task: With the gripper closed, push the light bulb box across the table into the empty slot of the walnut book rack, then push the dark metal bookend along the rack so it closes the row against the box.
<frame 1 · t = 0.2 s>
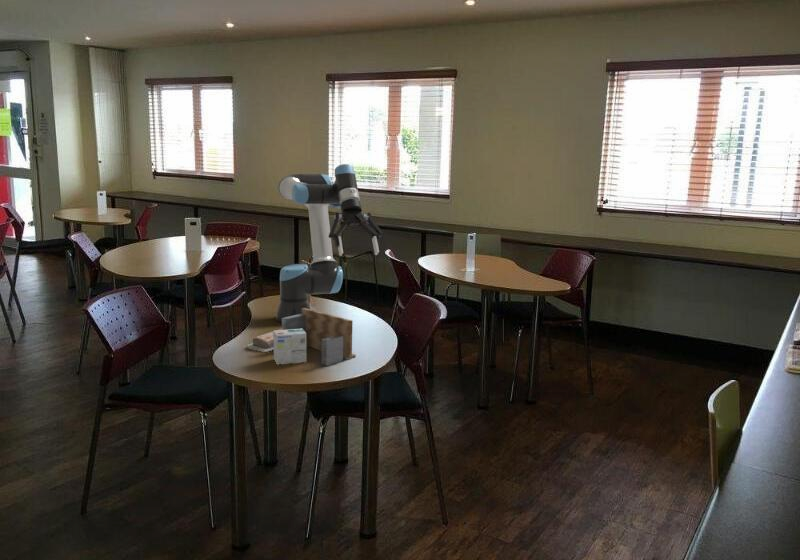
hand: (359, 254, 238), 36 cm above the table, tool tilted 35°, fingers open, 13 cm apart
bookend: (332, 350, 228), point 5 cm above the table, slide at 0.0 cm
packaged product: (272, 346, 247), on the table
rack: (322, 352, 240), on the table
light bulb box: (289, 361, 229), on the table
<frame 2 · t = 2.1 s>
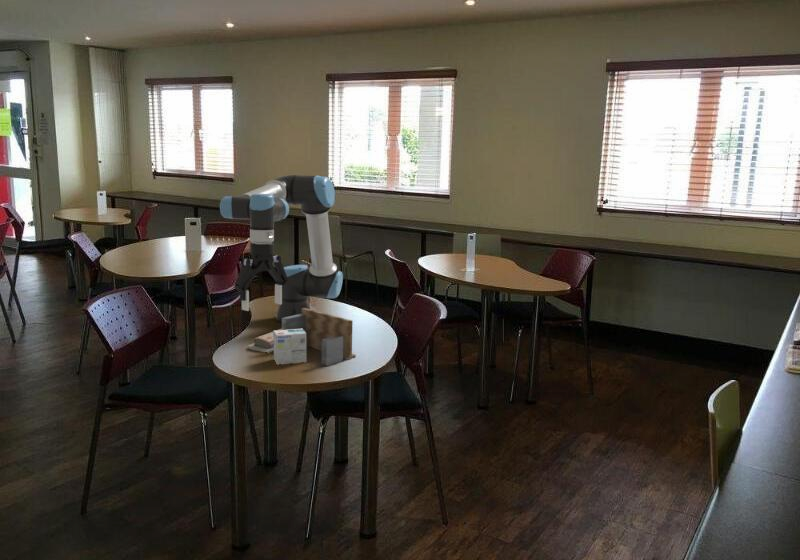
hand: (262, 307, 215), 22 cm above the table, tool pointing down, fingers open, 13 cm apart
nothing on the table moved.
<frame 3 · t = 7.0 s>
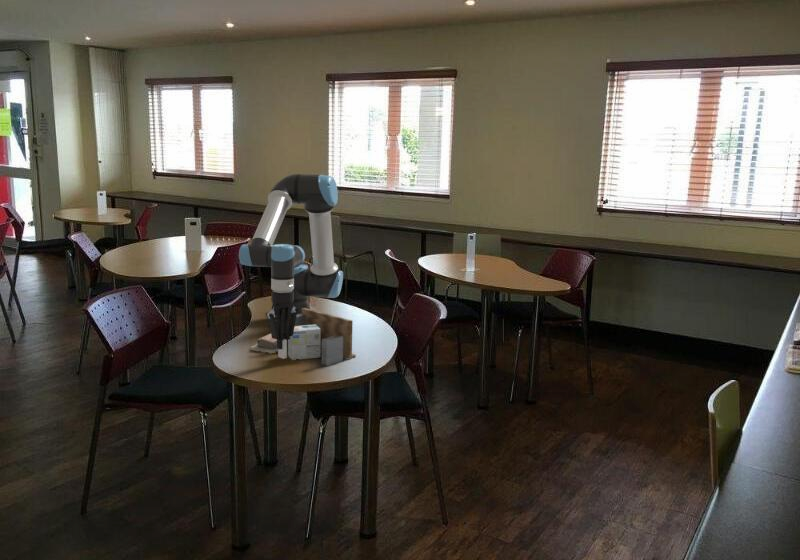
hand: (282, 357, 226), 2 cm above the table, tool pointing down, fingers closed
light bulb box: (304, 357, 235), on the table, touching hand
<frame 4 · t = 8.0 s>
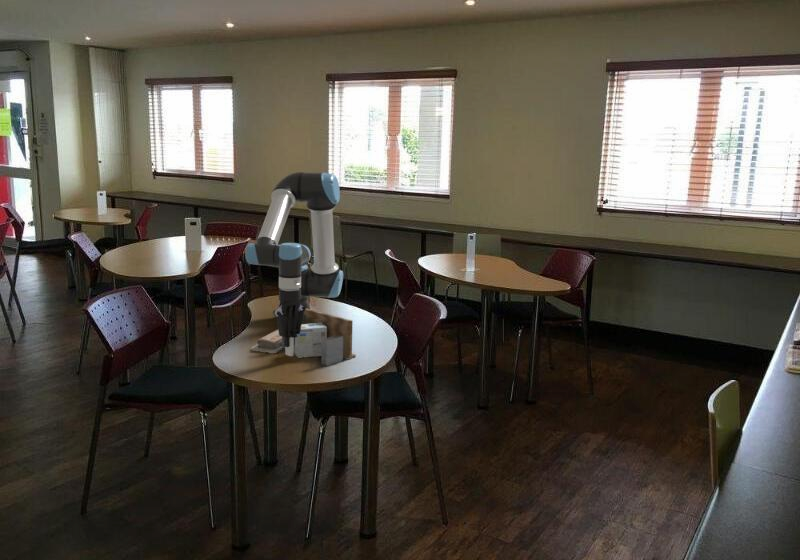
hand: (289, 355, 229), 2 cm above the table, tool pointing down, fingers closed
light bulb box: (310, 355, 237), on the table, touching hand, rack
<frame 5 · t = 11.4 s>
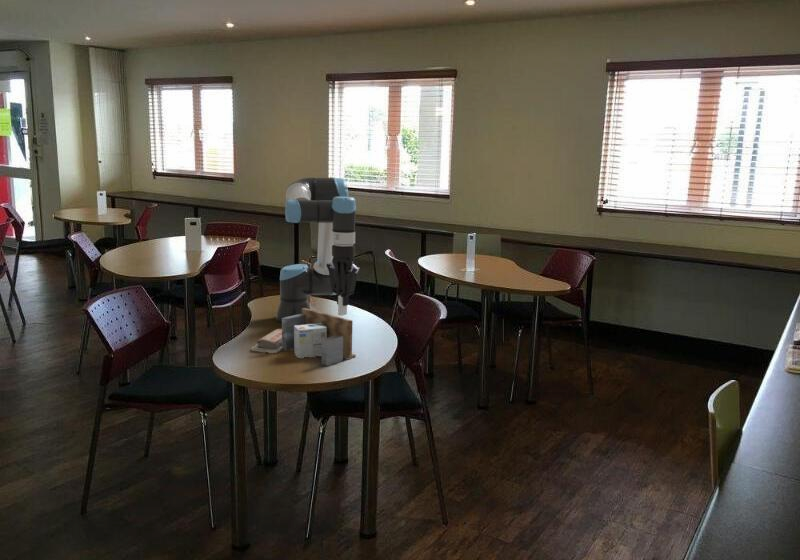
hand: (342, 314, 219), 19 cm above the table, tool pointing down, fingers closed
light bulb box: (310, 355, 237), on the table
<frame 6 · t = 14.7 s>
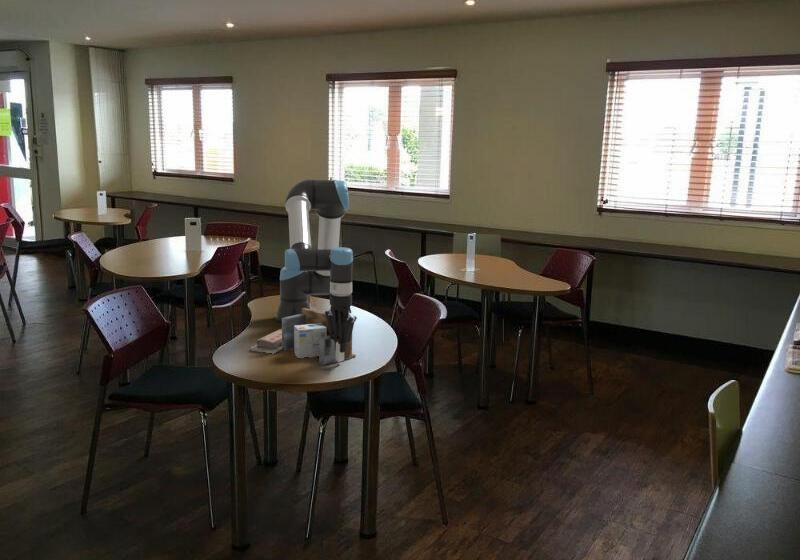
hand: (339, 360, 226), 2 cm above the table, tool pointing down, fingers closed
bookend: (330, 349, 229), point 5 cm above the table, slide at 1.2 cm, touching gripper
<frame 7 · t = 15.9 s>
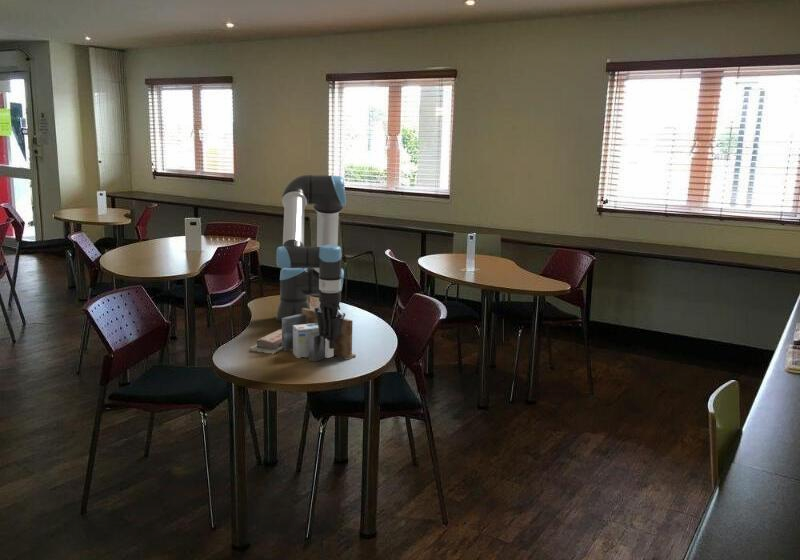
hand: (329, 356, 230), 2 cm above the table, tool pointing down, fingers closed
bookend: (319, 346, 232), point 5 cm above the table, slide at 6.3 cm, touching gripper, light bulb box
light bulb box: (309, 355, 237), on the table, touching bookend
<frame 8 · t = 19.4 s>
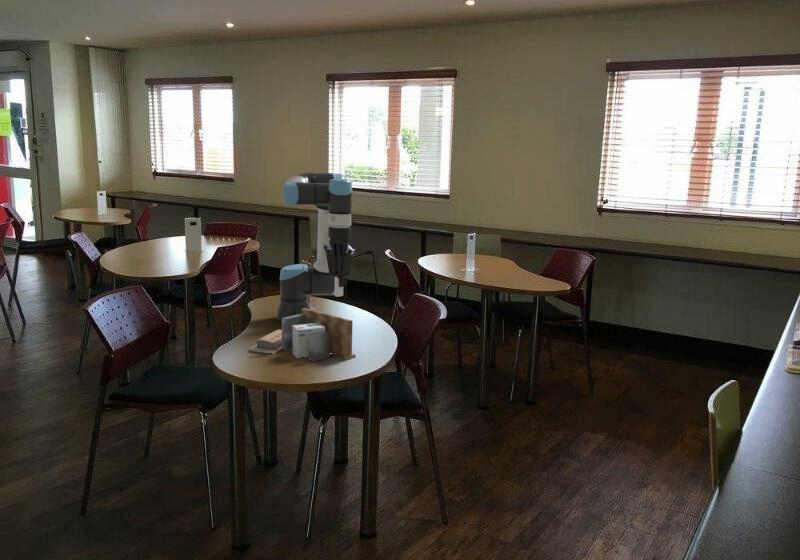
hand: (338, 295, 222), 24 cm above the table, tool pointing down, fingers closed
bookend: (319, 346, 232), point 5 cm above the table, slide at 6.4 cm
light bulb box: (308, 355, 237), on the table
at the end: light bulb box inside the target area (1.5 cm from its centre), on the table; light bulb box tilted 0°; bookend slide at 6.4 cm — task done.
